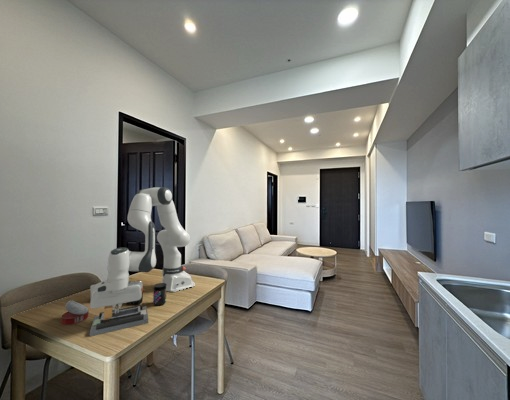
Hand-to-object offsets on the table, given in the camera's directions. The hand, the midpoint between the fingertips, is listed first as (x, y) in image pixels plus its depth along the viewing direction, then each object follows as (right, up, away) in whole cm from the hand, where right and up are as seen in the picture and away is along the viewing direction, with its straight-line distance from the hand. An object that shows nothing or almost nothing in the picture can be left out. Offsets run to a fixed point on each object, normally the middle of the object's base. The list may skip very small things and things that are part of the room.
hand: (116, 313), depth 99 cm
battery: (-3, -6, +20) cm, 21 cm away
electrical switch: (-26, -5, +24) cm, 36 cm away
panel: (+2, -5, +1) cm, 5 cm away
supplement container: (+11, -6, +20) cm, 24 cm away
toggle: (-3, -3, -2) cm, 4 cm away
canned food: (-21, -5, +2) cm, 22 cm away
